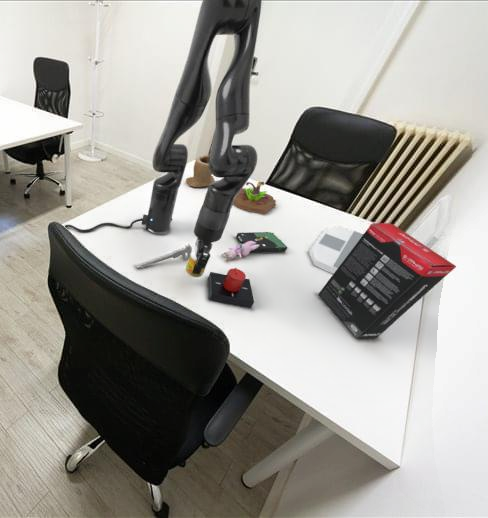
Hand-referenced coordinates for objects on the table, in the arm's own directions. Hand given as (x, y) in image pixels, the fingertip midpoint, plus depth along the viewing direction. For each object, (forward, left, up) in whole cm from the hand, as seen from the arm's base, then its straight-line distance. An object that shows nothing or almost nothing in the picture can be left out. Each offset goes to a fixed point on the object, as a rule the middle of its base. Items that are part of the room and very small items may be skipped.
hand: (195, 266), depth 89 cm
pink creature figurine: (+17, +20, -7) cm, 27 cm away
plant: (+28, +65, -7) cm, 71 cm away
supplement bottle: (0, 0, -2) cm, 2 cm away
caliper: (-9, +7, -7) cm, 14 cm away
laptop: (+59, +32, -7) cm, 67 cm away
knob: (+12, -1, -4) cm, 12 cm away
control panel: (+12, -1, -7) cm, 14 cm away
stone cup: (+5, +77, -7) cm, 77 cm away
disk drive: (+26, +29, -7) cm, 39 cm away
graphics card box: (+45, -1, -7) cm, 45 cm away
